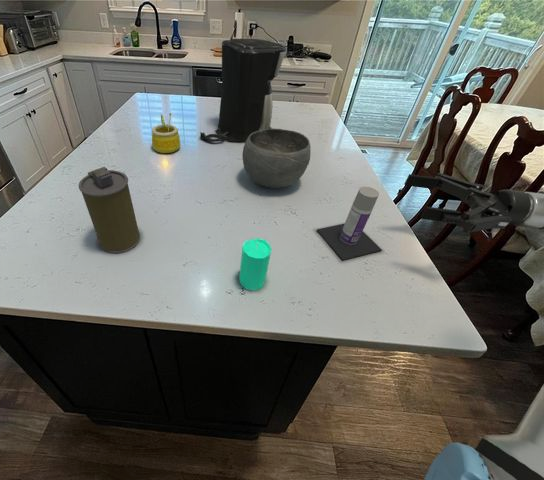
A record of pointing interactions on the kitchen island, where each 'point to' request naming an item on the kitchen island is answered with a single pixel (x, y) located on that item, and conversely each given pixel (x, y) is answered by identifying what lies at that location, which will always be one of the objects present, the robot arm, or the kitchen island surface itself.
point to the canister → (110, 209)
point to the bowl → (276, 157)
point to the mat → (345, 250)
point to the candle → (254, 263)
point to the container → (358, 215)
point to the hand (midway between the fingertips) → (414, 195)
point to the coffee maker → (246, 87)
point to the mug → (165, 137)
